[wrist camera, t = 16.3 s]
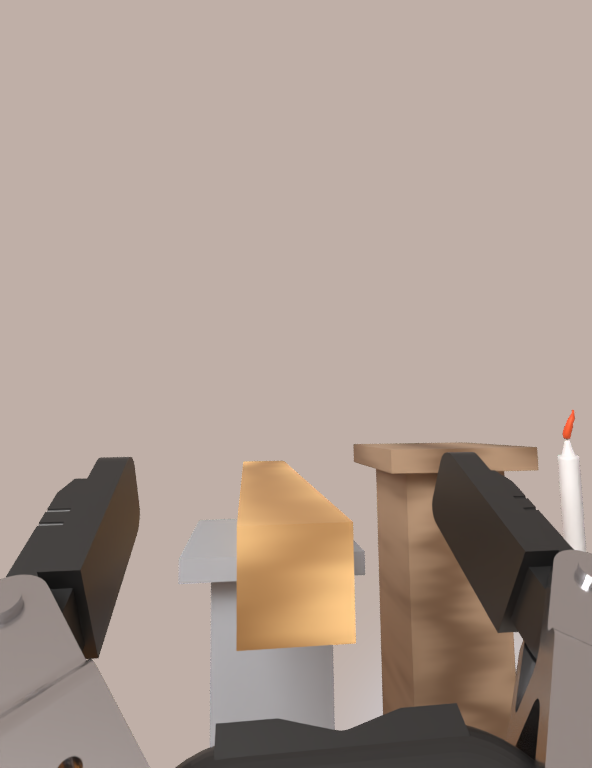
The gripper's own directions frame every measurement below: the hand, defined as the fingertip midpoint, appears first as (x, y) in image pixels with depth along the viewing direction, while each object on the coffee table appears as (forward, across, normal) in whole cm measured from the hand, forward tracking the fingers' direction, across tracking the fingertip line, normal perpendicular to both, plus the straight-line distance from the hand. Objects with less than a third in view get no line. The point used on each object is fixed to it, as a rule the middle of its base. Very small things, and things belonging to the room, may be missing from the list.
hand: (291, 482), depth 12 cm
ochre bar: (+8, 0, +9) cm, 12 cm away
